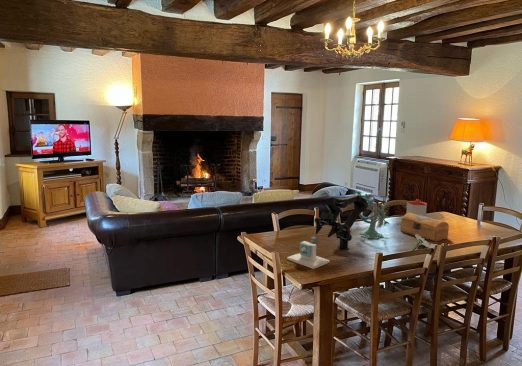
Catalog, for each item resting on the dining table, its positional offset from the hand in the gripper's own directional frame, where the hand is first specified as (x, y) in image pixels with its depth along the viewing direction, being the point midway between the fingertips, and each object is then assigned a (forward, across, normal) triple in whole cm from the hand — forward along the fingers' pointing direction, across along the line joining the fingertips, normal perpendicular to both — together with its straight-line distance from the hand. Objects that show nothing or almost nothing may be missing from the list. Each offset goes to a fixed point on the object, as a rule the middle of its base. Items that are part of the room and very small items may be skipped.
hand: (321, 235), depth 244 cm
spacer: (+17, 0, -4) cm, 18 cm away
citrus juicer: (-79, 0, +98) cm, 126 cm away
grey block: (+17, 0, -1) cm, 17 cm away
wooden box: (-58, +21, +78) cm, 99 cm away
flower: (-34, +32, +53) cm, 71 cm away
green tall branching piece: (-35, -2, +55) cm, 65 cm away
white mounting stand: (+18, 0, +1) cm, 18 cm away
